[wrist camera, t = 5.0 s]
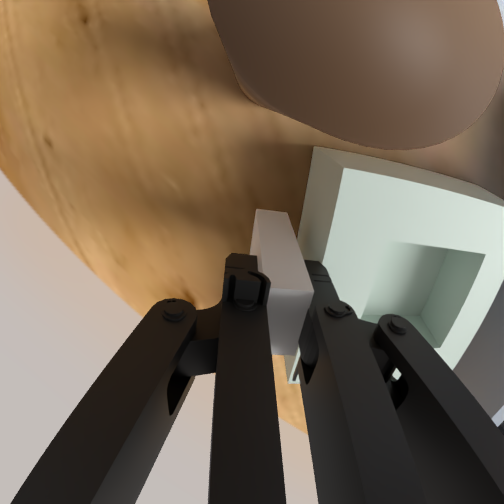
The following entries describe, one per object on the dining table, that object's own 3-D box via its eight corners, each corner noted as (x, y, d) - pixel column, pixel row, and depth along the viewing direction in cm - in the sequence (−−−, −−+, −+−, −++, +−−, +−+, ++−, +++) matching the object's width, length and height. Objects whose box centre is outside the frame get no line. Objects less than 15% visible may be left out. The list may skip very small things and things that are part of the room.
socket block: (313, 145, 15) (343, 167, 10) (476, 184, 16) (528, 215, 11) (279, 322, 20) (287, 383, 15) (421, 325, 21) (450, 373, 16)
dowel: (240, 27, 12) (232, -138, 1) (324, 40, 12) (498, -48, 2) (230, 104, 14) (184, 122, 3) (313, 115, 14) (485, 180, 3)
